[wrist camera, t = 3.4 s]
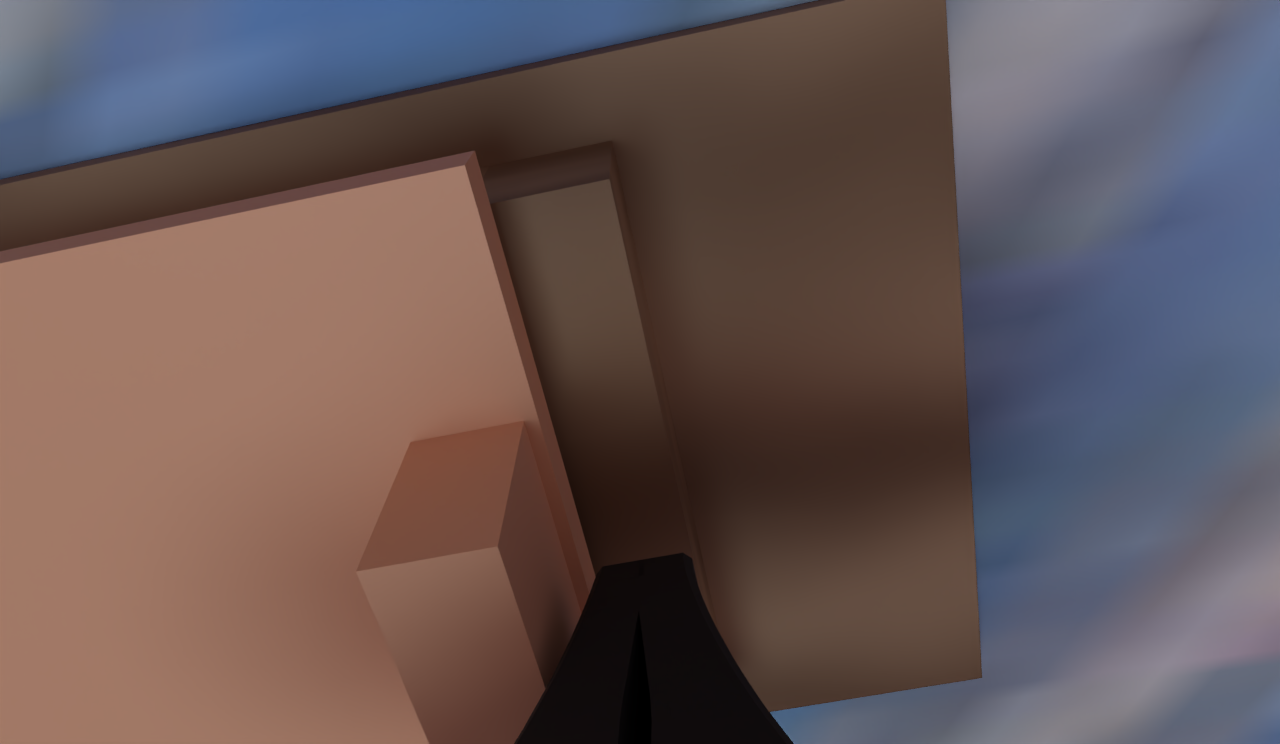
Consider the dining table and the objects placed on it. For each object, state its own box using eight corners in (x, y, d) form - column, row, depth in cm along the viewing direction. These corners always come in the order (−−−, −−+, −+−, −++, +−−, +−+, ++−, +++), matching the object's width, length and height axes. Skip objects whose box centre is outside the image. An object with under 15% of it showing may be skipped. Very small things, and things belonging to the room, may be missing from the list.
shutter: (667, 831, 17) (678, 1041, 14) (120, 914, 18) (8, 1131, 15) (475, 150, 12) (416, 235, 8) (-308, 316, 12) (-639, 453, 9)
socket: (969, 651, 20) (1028, 775, 17) (123, 788, 22) (43, 925, 19) (928, -24, 14) (1009, -12, 11) (-240, 232, 16) (-441, 302, 13)
